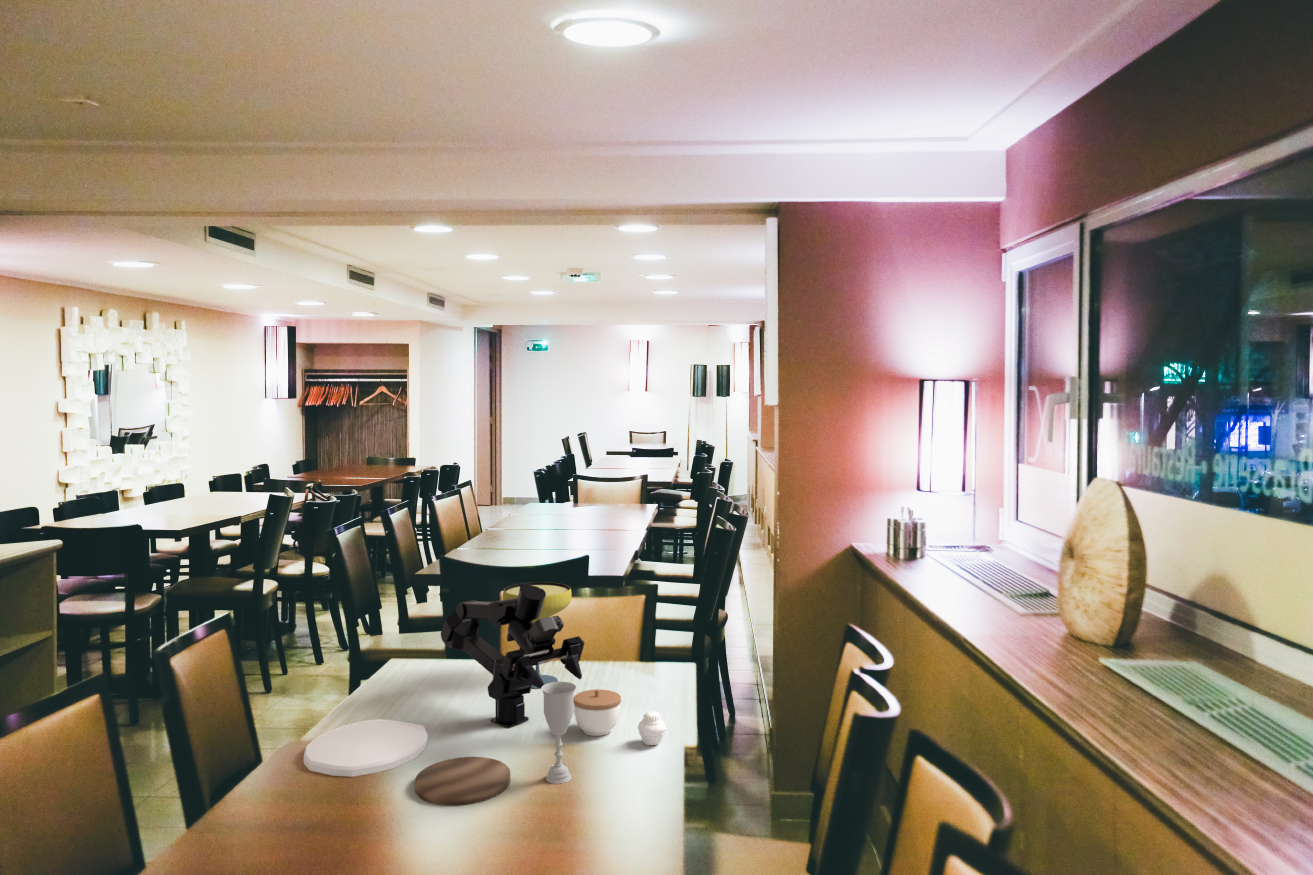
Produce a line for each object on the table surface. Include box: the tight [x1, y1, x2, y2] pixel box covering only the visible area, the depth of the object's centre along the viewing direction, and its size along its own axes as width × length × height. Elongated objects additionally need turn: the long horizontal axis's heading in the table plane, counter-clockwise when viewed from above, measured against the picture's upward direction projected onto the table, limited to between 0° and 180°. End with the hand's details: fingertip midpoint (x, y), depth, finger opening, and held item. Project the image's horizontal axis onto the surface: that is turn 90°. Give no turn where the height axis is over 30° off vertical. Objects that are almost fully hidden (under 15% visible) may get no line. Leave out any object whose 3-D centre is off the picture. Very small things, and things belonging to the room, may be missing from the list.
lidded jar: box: [573, 688, 622, 737], centre depth 189 cm, size 11×11×9 cm
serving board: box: [414, 756, 511, 806], centre depth 162 cm, size 18×18×2 cm
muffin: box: [637, 710, 667, 746], centre depth 182 cm, size 6×6×7 cm
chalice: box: [540, 681, 577, 785], centre depth 164 cm, size 7×7×18 cm
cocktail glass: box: [502, 581, 573, 690], centre depth 222 cm, size 18×18×25 cm
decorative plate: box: [303, 718, 429, 778], centre depth 178 cm, size 25×4×25 cm
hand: (562, 682), depth 177 cm, fingers open, 9 cm apart
